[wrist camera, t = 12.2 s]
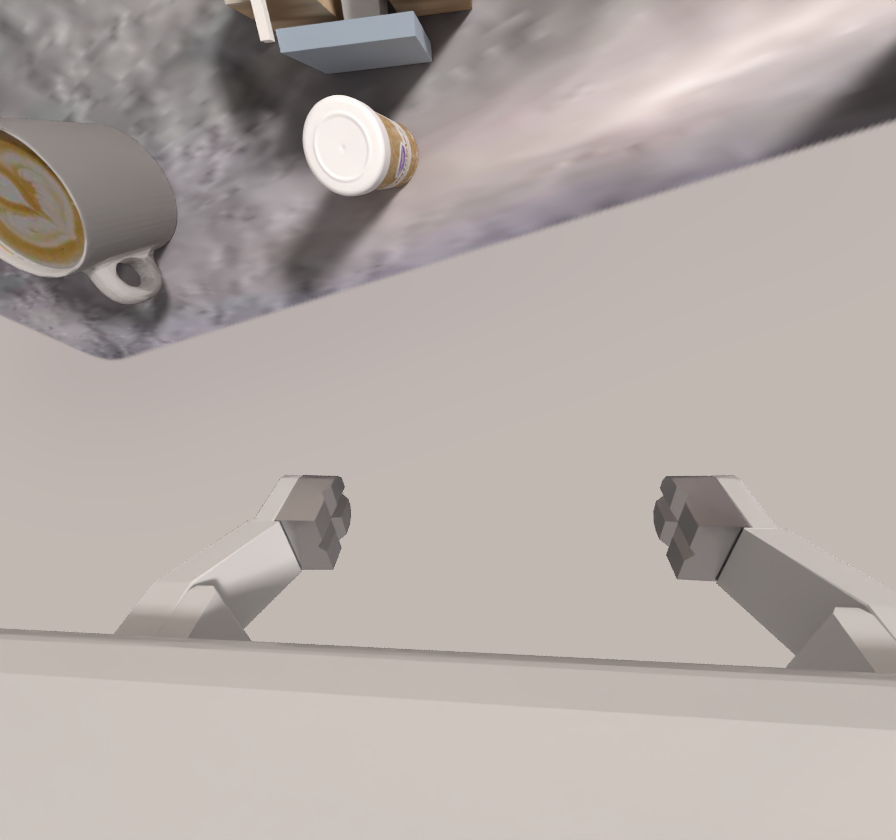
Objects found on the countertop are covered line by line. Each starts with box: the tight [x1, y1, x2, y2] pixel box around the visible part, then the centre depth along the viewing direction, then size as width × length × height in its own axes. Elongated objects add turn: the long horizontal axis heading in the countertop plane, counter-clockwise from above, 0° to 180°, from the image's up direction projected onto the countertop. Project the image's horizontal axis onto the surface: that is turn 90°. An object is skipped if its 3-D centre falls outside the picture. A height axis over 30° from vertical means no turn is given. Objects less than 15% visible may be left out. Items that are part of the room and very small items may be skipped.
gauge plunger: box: [250, 0, 432, 74], centre depth 25 cm, size 9×5×8 cm, turn 94°
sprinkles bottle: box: [302, 95, 418, 196], centre depth 27 cm, size 5×5×14 cm
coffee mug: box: [0, 118, 177, 304], centre depth 33 cm, size 13×10×10 cm
